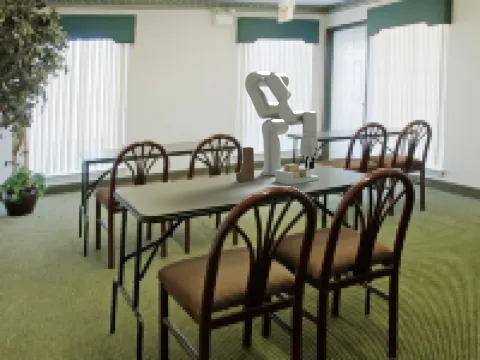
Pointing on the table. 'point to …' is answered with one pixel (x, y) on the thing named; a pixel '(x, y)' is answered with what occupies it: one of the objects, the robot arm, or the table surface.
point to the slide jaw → (305, 170)
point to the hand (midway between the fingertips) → (309, 168)
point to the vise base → (299, 180)
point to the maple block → (292, 169)
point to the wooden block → (247, 166)
